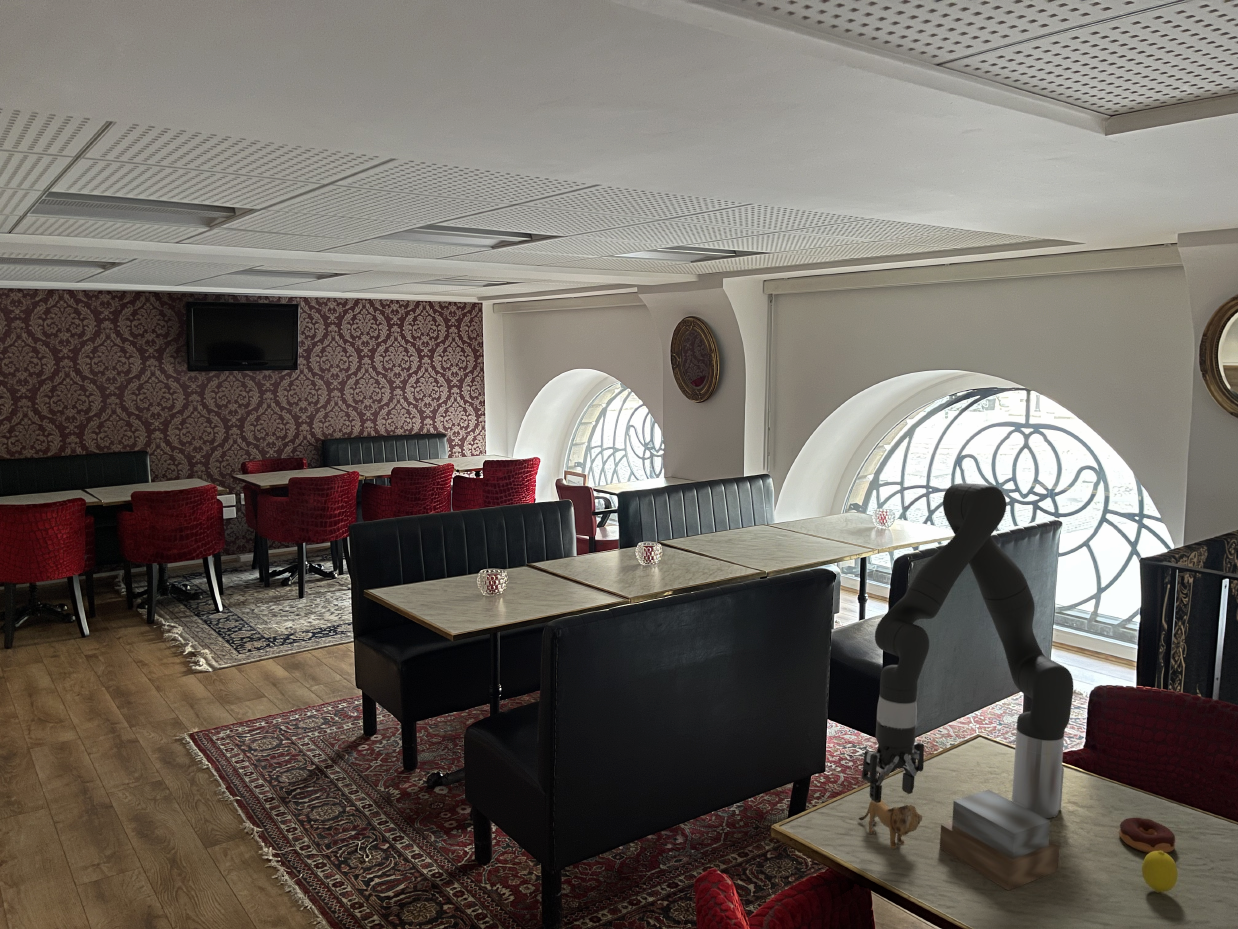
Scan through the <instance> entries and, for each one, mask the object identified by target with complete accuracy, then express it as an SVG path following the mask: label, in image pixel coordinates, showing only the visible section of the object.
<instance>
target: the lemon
mask: <svg viewBox="0 0 1238 929" xmlns="http://www.w3.org/2000/svg"><path fill="white" fill-rule="evenodd" d="M1141 875H1142V878H1143V880H1144V881H1145V883H1146V884H1147V886H1148V887H1150V888H1151V889H1152V890H1154V891H1155V893H1157V894H1158V893H1159V894H1160V893H1162V892H1168V891H1170V890H1172V889H1173V888H1174V887H1175V886H1176V884H1177V881H1178V867H1177V865H1176V863H1175V860H1174V859H1173V858H1172V857H1171V855H1169V854H1168V853H1164V852H1163V851H1161V850H1160V851H1153V852H1151V853H1147V854H1146V856H1145V857H1144V859H1143V862H1142V866H1141Z"/></svg>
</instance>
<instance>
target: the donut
mask: <svg viewBox="0 0 1238 929" xmlns="http://www.w3.org/2000/svg"><path fill="white" fill-rule="evenodd" d="M1118 836H1119V837H1120V839H1121V840H1122V841H1124V842H1125V844H1127V845H1128V846H1130V847H1131V848H1133V849H1135V850H1137V851H1141V852H1143V853H1145V854H1146V853H1147V854H1149V853H1151V852H1153V851H1160V850H1161V851H1163V852H1164V853H1166V854H1168V853H1171V852H1172V851H1173V850H1174V849H1175V847H1176V836H1175V834H1174V832H1173V831H1172V830H1171V829H1170V828H1169V827H1168V826H1166V825H1163V824H1161V823H1159V822H1157V821H1155V820H1153V819H1150V818H1142V817H1129V818H1125V819H1123V820H1122V821H1121V822H1120V824H1119V830H1118ZM1124 842H1123V843H1124Z"/></svg>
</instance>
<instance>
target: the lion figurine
mask: <svg viewBox="0 0 1238 929" xmlns="http://www.w3.org/2000/svg"><path fill="white" fill-rule="evenodd" d="M868 816H869V821H868V834H870V835H874V834H875V832H876V831H875V830H874V828H873V826H876V825H877V820H876V819H877V818H878V819H879V821H880V823H881V824H882V825H883V826H884V827H886V828H888V830H889V839H890V840H889V841H890V842H889V845H890V846H889V847H890V848H891V849H893V850H894V849H895V850H896V849H898V846H897V843H898V844H899V845H904V844H905V840H904V839H902V837H903V836H906V835H908V834H909V833H910V832H914V831H916V830H918V829H917V828H918V827H919V825H920V823H921V822H922V820H923V815H922V814H920V813H919V812H918V811H917V808H916V806H914V805H912V804H910V805H909V804H906V805H902V806H898V807H896V806H894V807H891V808H890V807H889V806H887V805H886V803H885V801H884V800H883V799H881V802H879V803H876V802H874V801H873V800H872V799H870V802H869V805H868V808H867V811H866V813H865V814H864V815H863V816H860V817H858V820H859V821H864V820H866V819H867V817H868Z"/></svg>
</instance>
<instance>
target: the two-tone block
mask: <svg viewBox="0 0 1238 929" xmlns="http://www.w3.org/2000/svg"><path fill="white" fill-rule="evenodd" d="M952 805H953V806H952V820H950V821H948V822H945V823H941V824H940V833H939V834H940V838H939V849H940V850H942V851H943V852H945V853H946V854H948V855H950V856H951V857H953V858H954V859H956V860H957V861H959V862H961V863H963V864H964V865H965V866H968V867H969V868H971V869H973V870H974V871H976V872H977V873H978V874H981V875H982V876H984V877H985V878H987V879H989V880H991V882H994V883H995V884H997V885H998V886H1000V887H1002V888H1003V889H1004V890H1006V891H1010V890H1013V889H1015V888H1018V887H1021V886H1023V885H1025V884H1028V883H1031V882H1033V881H1034V882H1035V881H1036V880H1038V879H1041V878H1043V877H1046V876H1049V875H1052V874H1054V873H1056V872H1059V867H1060V865H1059V863H1060V854H1061V853H1060V852H1061V845H1059V844H1057V843H1056V842H1053V840H1050V830H1051V820H1049V819H1048V818H1043V817H1042V816H1040V815H1038V814H1036V813H1034V812H1032V811H1030V810H1028V809H1026V808H1024V807H1022V806H1020V805H1018V804H1016V803H1014V802H1012V800H1011V799H1008V798H1006V797H1004V796H1002V795H1001V794H999V793H996V792H995V791H992V790H990V789H985V790H983V791H979V792H975V793H972V794H969V795H967V796H964V797H960V798H957V799H954V800H953V804H952Z"/></svg>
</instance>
